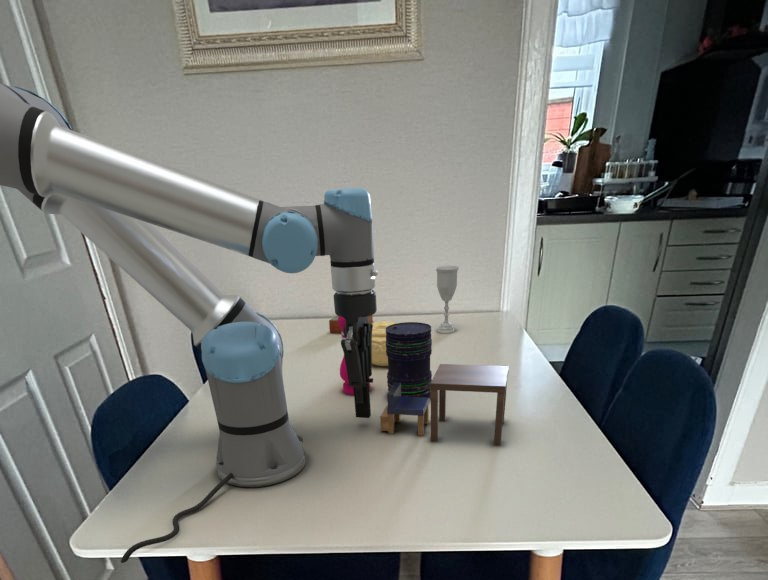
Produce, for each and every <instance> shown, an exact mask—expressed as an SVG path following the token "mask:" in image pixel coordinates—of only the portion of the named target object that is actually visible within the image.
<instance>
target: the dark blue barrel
mask: <svg viewBox="0 0 768 580" xmlns="http://www.w3.org/2000/svg"><path fill="white" fill-rule="evenodd" d="M432 345H433V339H432V326H431V325H430V324H428V323H425V322H418V321H404V322H396V324H393V325H390V326H387V327H386V355H387V357H388V366H387V373H386V377H387V382H386V384H387V385H386V386H387V391H388V392H389V391H390V389H391V388H392V386H393V385H394V383H401V396H402V397H424V398H429V400H431V390H430V383H431V381H432V379H433V374H432V369H431V355H432V353H433V352H432V351H433V349H432Z"/></svg>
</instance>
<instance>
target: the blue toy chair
mask: <svg viewBox="0 0 768 580" xmlns="http://www.w3.org/2000/svg"><path fill="white" fill-rule="evenodd" d="M386 397H387V405H386V406H385V408H384V409H383V411H382V413H381V414H380V416H379V419H380V420H379V421H380V431H382V432H388V434H391V435H394V433H395V431H396V430H395V423H400V422H401V416H417V436H424V434H425V433H424V432H425V431H424V430H425V425H428V424H429V420H430V419H429V416H430V407H429V405H430V399H429V398H424V397H402V396H401V383H394V385H393V386H392V388H391V389H390V391H388V392H387V394H386Z"/></svg>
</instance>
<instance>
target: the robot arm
mask: <svg viewBox="0 0 768 580" xmlns="http://www.w3.org/2000/svg"><path fill="white" fill-rule="evenodd" d="M0 186H3V187H7V188H11V189H15V190H18V191H19V192H20V193H21V194H22V195H23V196H24V197H25V198H27V199H28V200H29V201H30V202H31V203H32V204H33V205H34V206H35V207H36V208H38V210H40V211H41V212H42V213H44V214H47V215H58V216H59V215H60V216H62V217H63V218H64V219H66V220H67V222H68V223H69V224H71V225H72V226H73V227H75V228H76V229H77V230H78V231H79V232H80V233H81V234H82V235H84V236H85V237H86V239H88V240H89V241H90V242H91V243H92V244H93V245H94V246H95V247H97V248H98V249H99V250H100V251H101V252H102V253H104V254H105V255H106V256H107V257H108V258H109V259H110V260H111V261H113V263H115V264H116V265H117V266H118V267H119V268H120V269H121V270H122V271H124V272H125V273H126V274H127V275H128V276H129V277H130V278H131V279H133V281H135V283H137V284H138V285H139V286H140V287H142V288H143V289H144V290H145V291H146V292H147V293H148V294H150V296H151V297H153V298H154V300H156V301H157V302H158V303H159V304H161V306H162V307H164V308H165V309H166V310H167V311H168V312H169V313H170V314H171V315H172V316H174V317H175V318H176V319H177V320H178V321H180V322H181V323H182V324H183V325H184V326H185V327H186V328H187V329H188V330H190V331H191V334H192V340H193V346H195V347H196V349H198V350H199V351H200V352H201V361H202V364H203V366H204V370H205V373H206V374H205V375H206V379H207V382H208V387H209V391H210V396H211V400H212V404H213V408H214V413H215V416H216V421H217V426H218V431H219V436H218V442H217V443H218V444H217V450H216V451H217V452H216V458H215V459H216V460H215V466H216V470H217V474H218V475H217V476H218V477H219V478H220V479H221V481H220V482H218V484H217V485H215V487H214V488H213V489H212V490H210V491H209V493H208V494H207V495H206V496H205V497H204V498H203V499H202V500H201V501H199V503H197V504H195V505H194V506H192V507H189V508H187V509H184V510H181V511H179V512H178V513H177V514H175V515H174V516H173V518H172V525H173V529H172V531H171V532H170V533H168V534H165V535H163V536H159V537H154V538H150V539H145V540H142V541H139V542H137V543H135V544H132V546H130V547H129V548H128V549H127V550H126V551H125V552H124V554H123V556H122V557H121V559H120V563H121V564H124V563H126V562H127V561H129V559H130V557H131V556H132V555H133V554H134V553H135V552H136V551H138V550H139V549H142V548H144V547H147V546H151V545H156V544H161V543H164V542H167V541H170V540H171V539H173V538H175V537H176V536H177V535H178V534H179V532H180V524H179V520H180V519H181V518H182V517H185V516H187V515H190V514H193V513H195V512H197V511H199V510H200V509H202V508H203V507H204V506H205V505H206V504H208V502H209V501H210V500H211V499H212V498H213V497H214V496H215V495H216V494H217V492H218V491H220V490H221V489H222V488H223V487H224V486H226V484H229V485H231V486H234V487H241V488H259V487H266V486H271V485H272V486H273V485H276V484H279V483H282V482H285V481H286V480H289V479H291V478H293V477H295V476H296V475H298V474H299V473H300V472H301V471H302V470H303V469H304V467H305V465H306V455H305V450H304V447H303V445H302V444H303V443H304V439H303V437H302V436H300V435H298V434H297V433H296V431H295V430H294V427H293V426H292V424H291V422H290V418H289V411H288V405H287V398H286V391H285V385H284V378H283V360H284V352H285V351H284V343H283V339H282V336H281V334H280V333H279V332H280V331H279V330H278V328H277V326H276V325H275V324H274V323H273V322H272V321H271V319H269V318H268V317H267V316H265V315H263V314H260V313H259V312H257V311H255V310H254V309H253V308H252V307H251V306H250V305H248V303H246V301H245V300H243V298H242V297H240V296H239V295H236V294H235V295H233V294H226V293H224V292H223V291H222V290H221V289H220V288H219V287H218V286H217V285H216V284H215V283H213V282H212V281H211V280H210V279H209V278H208V277H207V276H206V275H205V274H204V273H203V272H202V271H201V270H200V269H199V268H198V267H197V266H196V265H195V264H194V263H193V262H192V261H191V260H190V259H189V258H188V257H187V256H186V255H184V254H183V253H182V251H180V249H179V248H177V246H176V245H174V244H173V242H172V241H170V240H169V238H168V237H166V236H165V235H164V234H163V233H162V232H161V231H160V230H159V229H158V228H157V227H159V228H163V229H166V230H169V231H172V232H175V233H178V234H180V235H184V236H186V237H190V238H193V239H196V240H198V241H202V242H206V243H208V244H211V245H215V246H218V247H221V248H224V249H225V250H226V249H227V250H228V251H233V252H234V253H235V252H236V253H238V254H242V255H245V256H248V257H251V258H253V259H255V260H258V261H261V262H264V263H267V264H270V265H271V266H273V267H274V268H275V269H276V270H278V271H280V272H282V273H284V274H285V273H286V274H298V273H301V272H303V271H306V270H307V269H308V268H309V267H310V266H311V265H312V264H313V262H314V260H315V258H316V257H325V256H329V259H330V261H329V262H330V274H331V275H330V276H331V287H332V290H333V291H334V292H335V293H334V294H333V306H334V314H335V315H336V316H339V317H343V318H344V319H345V327H344V336H345V337H346V339H342V338H341V340H340V346H341V349H342V351H343V357H345V363H346V369H347V375H348V381H349V384H348V385H349V387H353V388H354V395H353V399H354V411H355V418H359V419H370V418H371V416H372V414H371V412H372V411H371V410H372V409H371V393H370V391H369V384H367V383H370V384H372V383H374V378H371V377H372V374H373V371H372V370H373V369H372V365H373V363H372V328H373V325H372V324H373V322H371V323H368V317H367V316H371V315H372V316H373V315H375V314H376V313H377V311H378V308H377V292H375V290H373V289H374V288H376V277H377V276H378V274H379V272H378V270H377V269H375V252H374V251H375V250H374V228H373V227H374V226H373V225H374V224H373V222H374V219H373V215H372V205H371V204H372V203H371V195H370V193H369V192H368V190H367V189H365V188H362V187H361V188H360V187H357V188H356V187H355V188H353V187H352V188H339V189H328V190H326V191H325V192H324V196H323V197H324V198H323V203H320V204H315V205H293V206H279V205H276V204H273V203H270V202H267V201H264V200H261V199H259V198H258V197H257V198H256V197H254V196H251V195H248V194H246V193H243V192H240V191H238V190H235V189H232V188H229V187H227V186H224V185H221V184H219V183H216V182H214V181H211V180H207V179H205V178H202V177H200V176H197V175H194V174H192V173H189V172H186V171H183V170H180V169H178V168H176V167H173V166H170V165H168V164H164V163H162V162H159V161H156V160H153V159H151V158H148V157H145V156H142V155H140V154H137V153H135V152H132V151H129V150H127V149H123V148H121V147H118V146H115V145H112V144H110V143H107V142H105V141H102V140H99V139H96V138H93V137H91V136H89V135H86V134H83V133H81V132H77V131H74V130H73V128H72V126H71V125H70V123H69V121H68V120H67V118H66V117H65V116H64V115H63V113H62V112H61V111H59V109H57V107H55V105H53V103H51V102H50V101H49V100H47V99H46V98H44V97H42V96H40V95H39V94H37V93H36V92H33V91H31V90H29V89H27V88H24V87H20V86H16V85H8V84H5V83H3V82H0ZM156 226H157V227H156ZM369 376H370V377H369ZM301 443H302V444H301Z"/></svg>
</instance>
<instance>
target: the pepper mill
mask: <svg viewBox="0 0 768 580" xmlns="http://www.w3.org/2000/svg"><path fill="white" fill-rule="evenodd" d="M338 325H339V327H340V328H341V329H342V332H341V334H340V335H341V340H342V339H346V337H345V336H344V327H345V319H344V318H343V317H339V316H338ZM339 377H340V378H341V380H342V381H344V382H343V383H342V390H343V393H344V394H346V395H349V396H350V395H351V396H354V388H353V387H349V385H348V384H349V381H348V375H347V369H346V363H345V357H344V356H343V357H342V360H341V363H340V366H339ZM369 378H371V376H369ZM367 384H369V392H370V391H371V383H367Z"/></svg>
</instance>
